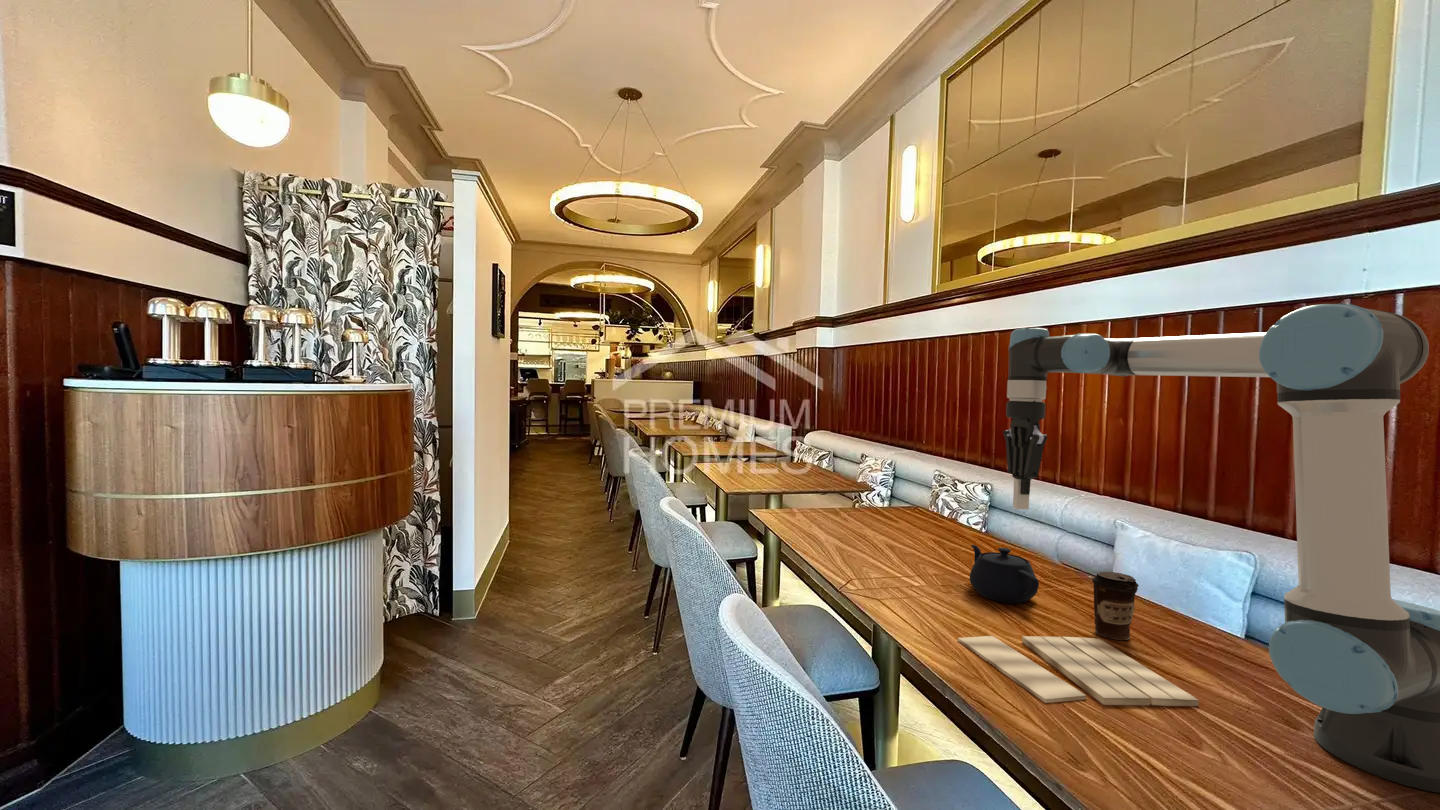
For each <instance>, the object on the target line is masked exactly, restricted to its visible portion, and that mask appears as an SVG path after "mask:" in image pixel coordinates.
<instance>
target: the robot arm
mask: <svg viewBox="0 0 1440 810" xmlns="http://www.w3.org/2000/svg"><path fill="white" fill-rule="evenodd" d="M1010 333H1011V334H1010V339H1009V344H1008V349H1007V351H1008V377H1007V385H1006V388H1007V389H1006V398H1007V399H1009V400H1008V401H1007V402H1006V405H1005V406H1006V409H1005V411H1006V412H1005V416H1006V417H1007V418H1009V419H1011V422H1010V426H1009V429H1006V430H1003V432H1002V433H1003V436H1004V437H1003V438H1004V440H1005V449H1006V452H1005V453H1006V463H1007V465H1006V466H1007V473H1008V474H1011V476H1012V478H1013V500H1012V508H1013V509H1015V510H1030V509H1029V508H1030V492H1031V481H1032V480H1033V479H1037V478H1038V477H1039V472H1040V467H1041V462H1042V458H1043V453H1044V447H1045V444H1046V442H1047V440H1048V436H1047V434H1042V432H1041V431H1040V429H1041V427H1040V420H1044V419H1045V418H1046V407H1047V405H1046V403H1045V402H1043V400H1046V397H1047V389H1048V387H1047V380H1048V373H1049V374H1052V373H1063V374H1064V373H1067V374H1069V373H1073V374H1090V375H1091V374H1092V375H1107V376H1116V377H1128V376H1163V377H1164V376H1168V377H1169V376H1171V377H1175V376H1176V377H1179V376H1180V377H1182V376H1183V377H1233V378H1235V377H1237V378H1238V377H1241V378H1245V377H1246V378H1270V379H1272V381H1274V382H1275V383H1276V394H1277V395H1276V397H1277V399H1276V400H1277V406H1279V407H1281V408H1282V409H1283V410H1285V411H1286V413H1288V414H1290V415H1291V417H1292V429H1293V430H1292V431H1293V433H1292V434H1293V454H1294V455H1293V458H1294V459H1293V462H1294V486H1295V487H1294V488H1295V492H1294V493H1295V516H1296V518H1295V519H1296V520H1295V521H1296V544H1297V545H1296V546H1297V547H1296V548H1297V550H1296V551H1297V576H1298V577H1297V579H1298V582H1297V583H1298V584H1297V586H1296V587H1294V588H1293V589H1291V590H1289V591H1287V592H1286V593H1285V594H1284V596H1283V597H1284V598H1283V600H1284V601H1283V604H1284V606H1283V608H1284V623H1283V624H1281V625H1280V626H1279V627H1277V628H1276V629H1275V631H1274V632H1273V633H1272V635H1270V639H1269V644H1268V651H1269V652H1268V653H1269V657H1270V660H1271V663H1272V665H1273V667H1274V669H1275V670H1276V672H1277V673H1278V675H1279V676H1280V677H1281V679H1282V680H1283V681H1285V682H1286V683H1287V684H1288V685H1289V687H1291V688H1292V689H1293V691H1294V692H1296V693H1297V694H1298V695H1299V696H1301V697H1303V699H1306V700H1307V701H1309V702H1311V703H1313V704H1314V705H1317V706H1318V707H1321V710H1320V711H1319V714H1318V715H1317V716H1316V718H1315V720H1314V727H1313V738H1314V739H1315V741H1316V742H1317V743H1318V745H1320V746H1321V748H1324V750H1326V751H1327V752H1328V753H1330V754H1332V755H1333V756H1335V757H1337V758H1338V759H1340V760H1342V761H1343V762H1345V763H1348V764H1350V765H1352V766H1354V767H1356V768H1358V769H1360V770H1363V771H1365V772H1367V773H1369V774H1372V775H1375V776H1377V777H1380V778H1382V779H1385V780H1388V781H1391V782H1394V783H1396V784H1399V785H1404V786H1407V787H1411V788H1415V789H1417V790H1423V791H1428V792H1432V793H1438V794H1440V610H1438V609H1434V608H1432V607H1427V606H1424V605H1421V604H1415V603H1411V602H1409V601H1403V600H1398V599H1395V598H1392V595H1391V593H1392V592H1391V591H1392V590H1391V569H1390V567H1391V565H1390V545H1389V544H1390V543H1389V524H1388V523H1389V522H1388V521H1389V519H1388V496H1387V495H1388V494H1387V476H1386V475H1387V474H1386V473H1387V472H1386V452H1385V449H1386V448H1385V427H1384V425H1385V424H1384V416H1385V415H1386V413H1387V412H1389V411H1390V410H1392V409H1393V408H1394V407H1396V406H1397V405H1398V404H1400V403H1401V386H1400V385H1401V384H1403V383H1405V382H1406V381H1409V380H1410V379H1411V378H1413V377H1414V376H1415V375H1416V374H1417V373H1419V371H1420V370H1421V369H1422V368H1423V367H1424V365H1425V363H1426V362H1427V360H1428V357H1429V351H1430V349H1429V348H1430V344H1429V340H1428V338H1427V336H1426V334H1425V332H1424V330H1423V329H1422V328H1421V327H1420V326H1419V325H1418V324H1417V323H1416V322H1414V321H1413V320H1411V319H1409V318H1408V317H1406V316H1404V315H1401V314H1398V313H1394V312H1392V311H1391V312H1389V311H1385V310H1378V309H1371V308H1364V307H1360V306H1358V305H1355V304H1350V303H1349V304H1347V303H1332V304H1331V303H1323V304H1321V303H1320V304H1313V305H1308V306H1304V307H1299V308H1298V309H1296V310H1294V311H1291V312H1289V313H1287V314H1285V315H1283V316H1282V317H1280V319H1278V320H1277V321H1276V322H1275V323H1274V324H1272V326H1270V327H1269V329H1268V330H1267V331H1266V332H1244V333H1222V334H1203V335H1202V334H1200V335H1198V334H1197V335H1179V336H1177V335H1176V336H1160V337H1159V336H1154V337H1131V338H1130V337H1129V338H1128V337H1126V338H1111V337H1110V338H1107V337H1103V335H1100V334H1097V333H1077V334H1068V335H1057V336H1050V332H1049V330H1048V329H1047V328H1043V327H1026V328H1016V329H1014V330H1013V331H1012V332H1010Z"/></svg>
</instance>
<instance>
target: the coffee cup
mask: <svg viewBox="0 0 1440 810" xmlns="http://www.w3.org/2000/svg"><path fill="white" fill-rule="evenodd" d="M1091 582H1092V584H1093V585H1092V586H1093V609H1094V610H1093V611H1094V613H1093V614H1094V626H1095V627H1094V630H1095V633H1096V634H1097V635H1099V636H1101V637H1105V638H1109V639H1111V640H1112V639H1113V640H1118V641H1127V640H1130V639H1132V638H1131V633H1130V631H1131V629H1130V626H1131V625H1132V621H1133V620H1132V619H1133V616H1134V613H1135V606H1136V604H1135V598H1136V593H1137V592H1138V590H1139V589H1138V587H1139V584H1138V583H1137V582H1136V579H1135V578H1134V577H1133V576H1131V575H1129V574H1126V573H1125V574H1124V573H1120V572H1114V571H1101V572H1097V573H1096V576H1094V577H1093V578H1092V581H1091Z"/></svg>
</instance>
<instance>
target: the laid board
mask: <svg viewBox="0 0 1440 810" xmlns="http://www.w3.org/2000/svg"><path fill="white" fill-rule="evenodd" d="M1021 637H1022V638H1021V641H1022V643H1023V644H1024V645H1025V646H1026V647H1028V648H1030V650H1032V651H1033V652H1034V653H1036V654H1037V655H1039V656H1040V657H1041V658H1043V660H1044V661H1046V662H1047V663H1048V664H1050V665H1051V666H1053V667H1054V668H1055V669H1056V670H1058V671H1059V672H1060V673H1062V674H1063V675H1064V676H1065V677H1067V678H1068V679H1070V680H1071V681H1072V682H1073V683H1075V684H1076V685H1077V686H1078V687H1080V688H1081V689H1082V690H1083V691H1085V692H1086V693H1088V694H1089V695H1090V696H1091V697H1092V698H1094V699H1095V700H1097V701H1098V702H1099V703H1100V704H1102V705H1103V706H1151V704H1150V698H1149V697H1148V696H1146V695H1145V694H1143V693H1142V692H1140V691H1139V690H1137V689H1136V688H1135V687H1133V686H1132V685H1130V684H1129V683H1127V682H1126V681H1124V680H1123V679H1121V678H1120V677H1118V676H1117V675H1115V674H1114V673H1112V672H1111V671H1110V670H1108V669H1107V668H1105V667H1104V666H1102V665H1101V664H1099V663H1098V662H1096V661H1095V660H1093V659H1092V658H1090V657H1089V656H1087V655H1086V654H1085V653H1083V652H1082V651H1080V650H1079V649H1077V648H1076V647H1074V646H1073V645H1071V644H1070V643H1068V642H1067V641H1065V640H1064V639H1062V636H1043V635H1040V636H1038V635H1037V636H1036V635H1035V636H1034V635H1033V636H1032V635H1031V636H1027V635H1025V636H1024V635H1023V636H1021Z"/></svg>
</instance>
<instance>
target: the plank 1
mask: <svg viewBox="0 0 1440 810" xmlns="http://www.w3.org/2000/svg"><path fill="white" fill-rule="evenodd" d="M957 641H958V642H959V643H960V644H961V645H963V646H964V645H965V647H966V648H967V649H969V650H970V651H971V650H972V652H973V653H974V652H975V653H974V654H976V655H977V656H978V655H979V657H980V659H983V660H984V661H986V662H987V661H988V662H989V664H990V665H991V664H992V665H991V666H992V667H994V668H995V667H996V668H995V669H997V670H998V671H1000V672H1001V673H1002V674H1004V675H1005V676H1006V677H1008V678H1010V679H1011V680H1012V681H1014V682H1015V683H1017V684H1018V685H1019V686H1020V687H1022V688H1024V689H1025V690H1026V691H1028V692H1030V693H1031V694H1032V695H1034V696H1035V697H1036V698H1038V699H1039V700H1040V701H1042V702H1043V703H1045V704H1048V703H1060V702H1061V703H1062V702H1071V701H1072V702H1073V701H1081V700H1082V701H1083V700H1087V695H1086V694H1085V693H1083V692H1082V691H1080V690H1079V689H1077V688H1075V687H1074V686H1072V685H1071V684H1069V683H1067V682H1066V681H1065V680H1063V679H1061V678H1060V677H1058V676H1056V675H1055V674H1053V673H1052V672H1050V671H1049V670H1047V669H1046V668H1044V667H1042V666H1041V665H1039V664H1038V663H1036V661H1035V662H1034V661H1033V660H1031V658H1028V657H1027V656H1025V655H1023V654H1022V653H1020V652H1019V651H1017V650H1016V649H1014V648H1012V647H1011V646H1009V645H1008V644H1006V643H1004V642H1003V641H1001V640H1000V639H998V638H997V637H995V636H994V635H984V636H982V635H981V636H980V635H979V636H967V637H958V638H957ZM988 662H987V663H988Z"/></svg>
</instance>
